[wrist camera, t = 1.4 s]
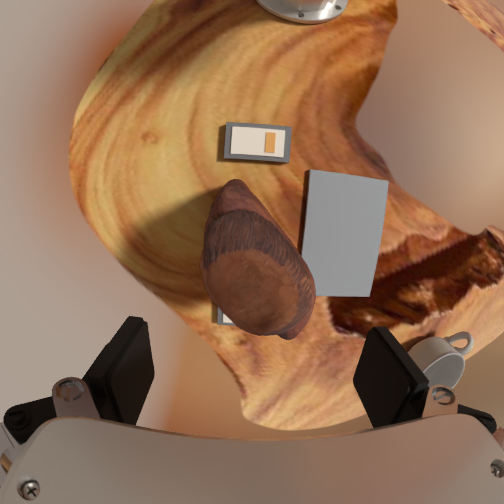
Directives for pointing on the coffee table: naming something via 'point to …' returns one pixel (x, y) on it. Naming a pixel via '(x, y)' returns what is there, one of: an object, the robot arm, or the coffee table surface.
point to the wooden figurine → (254, 267)
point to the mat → (343, 231)
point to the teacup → (441, 358)
